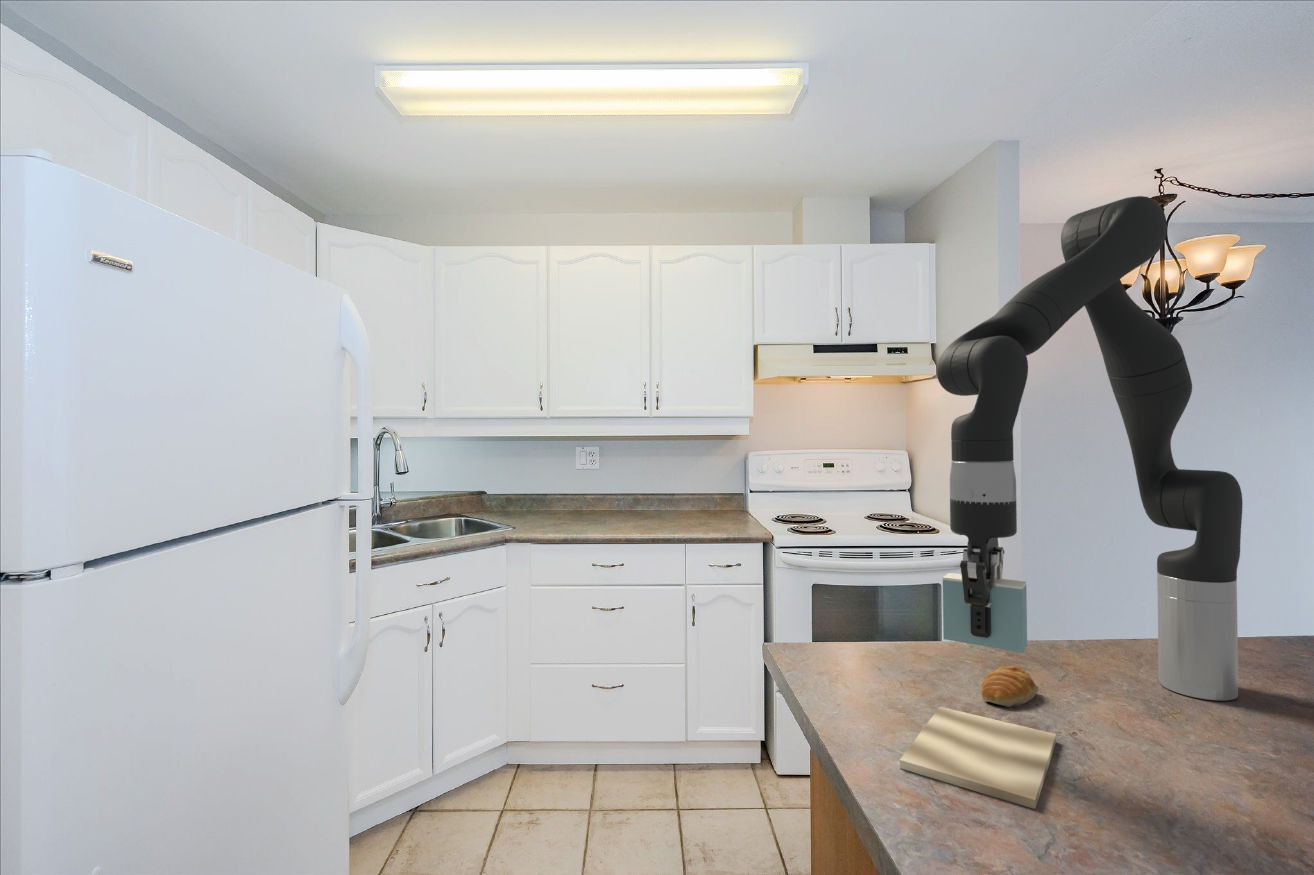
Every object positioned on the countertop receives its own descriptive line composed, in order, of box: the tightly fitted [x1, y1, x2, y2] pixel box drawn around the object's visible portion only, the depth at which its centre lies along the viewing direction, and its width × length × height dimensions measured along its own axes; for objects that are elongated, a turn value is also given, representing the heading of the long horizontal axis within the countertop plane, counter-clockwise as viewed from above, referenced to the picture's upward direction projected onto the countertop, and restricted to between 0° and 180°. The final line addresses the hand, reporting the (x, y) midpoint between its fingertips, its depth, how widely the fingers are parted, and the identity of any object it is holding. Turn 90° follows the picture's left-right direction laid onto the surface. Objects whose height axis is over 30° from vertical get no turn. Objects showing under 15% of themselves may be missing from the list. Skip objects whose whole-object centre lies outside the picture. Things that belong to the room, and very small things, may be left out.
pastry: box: [981, 665, 1039, 708], centre depth 95 cm, size 9×7×4 cm
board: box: [899, 706, 1057, 810], centre depth 79 cm, size 18×14×1 cm
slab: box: [942, 572, 1028, 654], centre depth 81 cm, size 3×9×8 cm, turn 52°
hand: (984, 631), depth 81 cm, fingers closed on slab, 3 cm apart
